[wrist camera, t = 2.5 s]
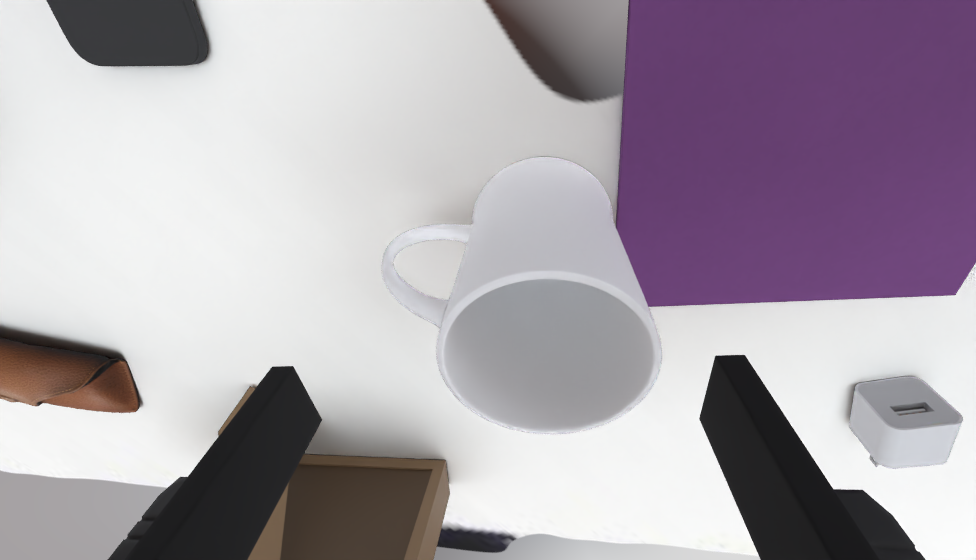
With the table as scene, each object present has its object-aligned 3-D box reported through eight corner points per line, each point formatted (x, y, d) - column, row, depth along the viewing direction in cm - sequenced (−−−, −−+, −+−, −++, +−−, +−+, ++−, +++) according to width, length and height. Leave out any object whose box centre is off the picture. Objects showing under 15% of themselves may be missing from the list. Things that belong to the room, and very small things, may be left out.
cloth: (1249, -195, 13) (1267, -201, 13) (949, 291, 24) (955, 295, 23) (633, -83, 16) (635, -85, 16) (611, 304, 27) (612, 308, 26)
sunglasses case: (-37, 377, 38) (-146, 401, 32) (-26, 308, 38) (-134, 318, 31) (144, 414, 39) (74, 445, 32) (156, 346, 38) (88, 363, 32)
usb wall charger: (917, 374, 27) (970, 422, 24) (901, 434, 31) (945, 484, 27) (849, 384, 28) (892, 431, 25) (841, 441, 32) (877, 489, 28)
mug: (411, 246, 26) (332, 384, 16) (439, 115, 21) (353, 193, 11) (576, 298, 27) (601, 460, 17) (638, 183, 22) (725, 312, 12)
